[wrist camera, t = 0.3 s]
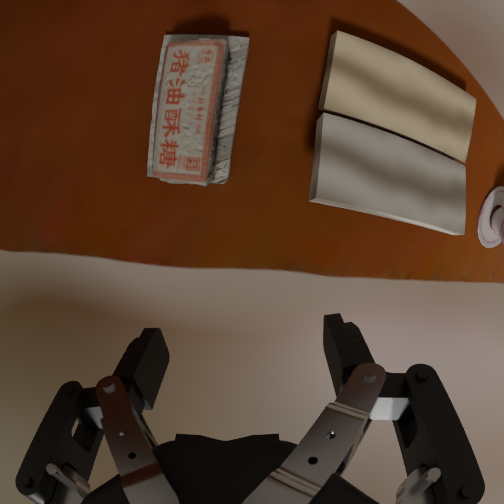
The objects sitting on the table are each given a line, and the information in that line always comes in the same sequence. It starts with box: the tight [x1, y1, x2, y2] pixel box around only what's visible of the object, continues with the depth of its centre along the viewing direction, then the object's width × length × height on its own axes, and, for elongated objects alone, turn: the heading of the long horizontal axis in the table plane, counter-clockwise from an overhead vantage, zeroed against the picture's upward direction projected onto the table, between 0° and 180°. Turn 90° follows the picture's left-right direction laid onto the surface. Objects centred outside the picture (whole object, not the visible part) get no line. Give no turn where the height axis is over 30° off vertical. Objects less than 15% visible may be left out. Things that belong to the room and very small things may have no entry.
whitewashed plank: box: [309, 112, 466, 235], centre depth 29 cm, size 10×22×2 cm, turn 81°
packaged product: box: [147, 34, 249, 186], centre depth 26 cm, size 18×5×10 cm
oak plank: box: [318, 30, 476, 163], centre depth 26 cm, size 10×22×3 cm, turn 81°
